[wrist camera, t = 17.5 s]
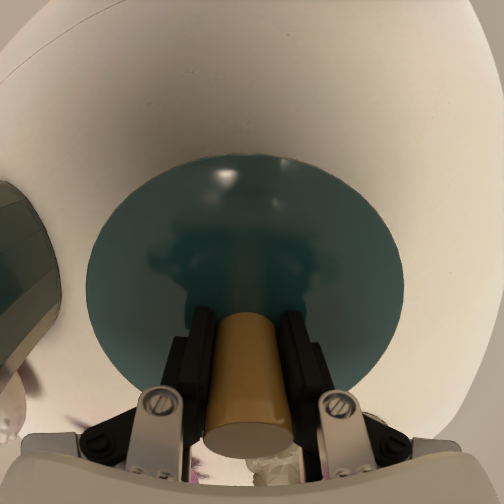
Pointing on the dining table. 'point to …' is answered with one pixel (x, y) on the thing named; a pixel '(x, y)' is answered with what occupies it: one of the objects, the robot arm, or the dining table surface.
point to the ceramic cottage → (280, 466)
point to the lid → (245, 284)
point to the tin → (24, 281)
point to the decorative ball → (12, 409)
